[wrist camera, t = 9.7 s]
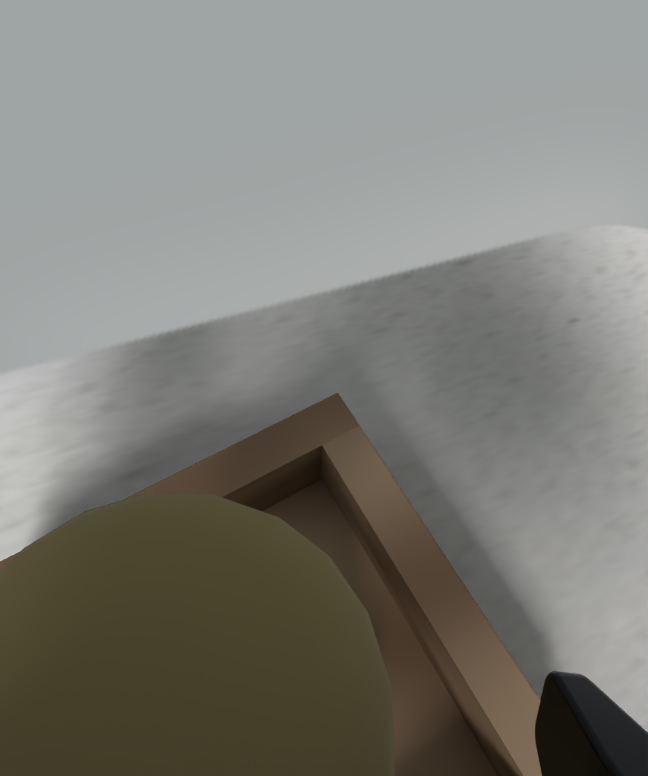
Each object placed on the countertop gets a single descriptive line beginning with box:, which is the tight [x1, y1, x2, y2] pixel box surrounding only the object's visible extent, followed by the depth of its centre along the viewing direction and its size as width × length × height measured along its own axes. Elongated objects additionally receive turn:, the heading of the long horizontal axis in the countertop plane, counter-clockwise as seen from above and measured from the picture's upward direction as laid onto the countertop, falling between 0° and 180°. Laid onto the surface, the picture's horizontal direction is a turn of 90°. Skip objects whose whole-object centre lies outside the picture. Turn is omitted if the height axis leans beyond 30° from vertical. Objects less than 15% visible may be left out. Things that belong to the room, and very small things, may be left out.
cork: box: [0, 493, 395, 776], centre depth 10 cm, size 6×6×11 cm
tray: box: [0, 393, 542, 776], centre depth 14 cm, size 11×11×4 cm
